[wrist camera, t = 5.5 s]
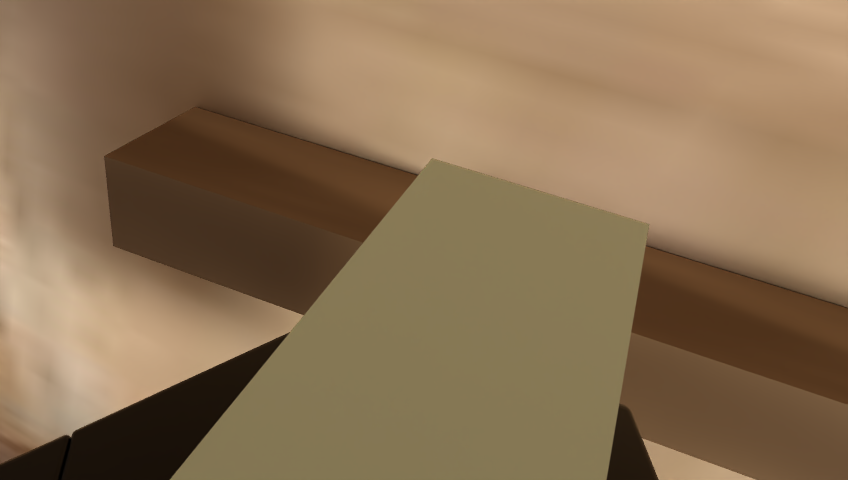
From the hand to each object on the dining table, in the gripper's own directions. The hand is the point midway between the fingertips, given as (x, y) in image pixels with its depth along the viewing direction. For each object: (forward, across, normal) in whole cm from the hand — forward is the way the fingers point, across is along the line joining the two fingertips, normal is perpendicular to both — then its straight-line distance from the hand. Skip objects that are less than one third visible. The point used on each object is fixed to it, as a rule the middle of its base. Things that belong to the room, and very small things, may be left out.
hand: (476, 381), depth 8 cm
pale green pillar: (+1, 0, +4) cm, 4 cm away
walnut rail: (+9, 0, +4) cm, 10 cm away
